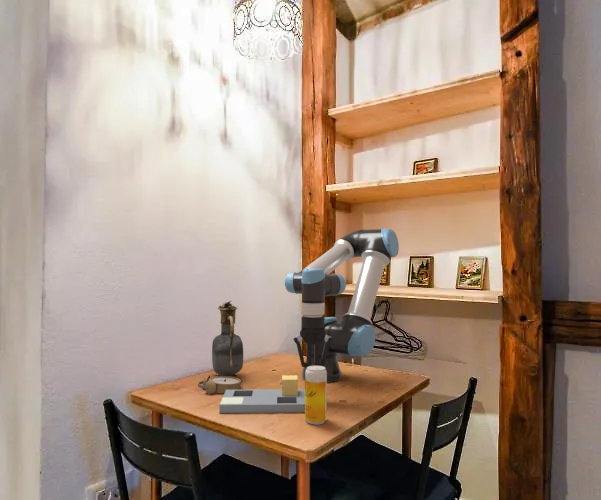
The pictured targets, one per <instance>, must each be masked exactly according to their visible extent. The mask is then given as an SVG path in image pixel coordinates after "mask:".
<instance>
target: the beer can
mask: <svg viewBox="0 0 601 500" xmlns="http://www.w3.org/2000/svg"><path fill="white" fill-rule="evenodd" d="M327 383H328V382H327V371H326V369H325V367H323V366H308V367H307V369H306V371H305V379H304V385H305V386H304V390H305V412H304V419H305V421H306V423H308V424H309V425H317V426H318V425H323V424H325V422H326V420H327V407H328V405H327V403H328V402H327V400H328V399H327V397H328V392H327V391H328V388H327V387H328V386H327Z"/></svg>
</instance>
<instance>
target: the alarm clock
mask: <svg viewBox="0 0 601 500" xmlns="http://www.w3.org/2000/svg"><path fill="white" fill-rule="evenodd" d="M241 382H242V380H241V378H238V377H237V378H236V377H231V376H218V375H217V376H210V375H206V376H204V378H203V380H201V381H198V382H197V387H198V388H199V389H203V390H204V389H205V392H206V393H207V394H208V395H213V394H215V393H218V394H224V393H225V391H226V390H241V388H244V386H243V385H241Z"/></svg>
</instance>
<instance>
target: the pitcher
mask: <svg viewBox="0 0 601 500" xmlns="http://www.w3.org/2000/svg"><path fill="white" fill-rule="evenodd" d="M232 301H233V300H230V301H227V302H223V303H222V304H221V305H219V306H218V308H217V309H218V310H219V312H220V326H221V329H220V331H221V333H220V334H219V335H216V336H215V337H214V338H213V340H212V346H211V356H212V357H211V362H212V369H213V371H214V373H215V374H217V376H231V377H236V378H238V376H237V373H239V372H241V370H242V369H243V366H244V365H243V364H244V345H243V340H242V338H241V336H240V335H238V334H235V324H236V311H237V310H238V307H237V306H234V305H233V304H232V303H231V302H232Z"/></svg>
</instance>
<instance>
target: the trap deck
mask: <svg viewBox="0 0 601 500" xmlns="http://www.w3.org/2000/svg"><path fill="white" fill-rule="evenodd" d="M255 413H256V414H261V413H262V414H268V413H269V414H270V413H271V414H273V413H274V414H279V413H280V414H281V413H283V414H285V413H288V414H289V413H291V414H292V413H295V414H296V413H305V388H298V395H282V388H279V389H274V388H273V389H272V388H271V389H267V388H266V389H263V388H261V389H257V388H256V389H255V388H254V389H240V390H226V391H225V393H223V396H222V398H221V401H220V403H219V412H218V414H255Z"/></svg>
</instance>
